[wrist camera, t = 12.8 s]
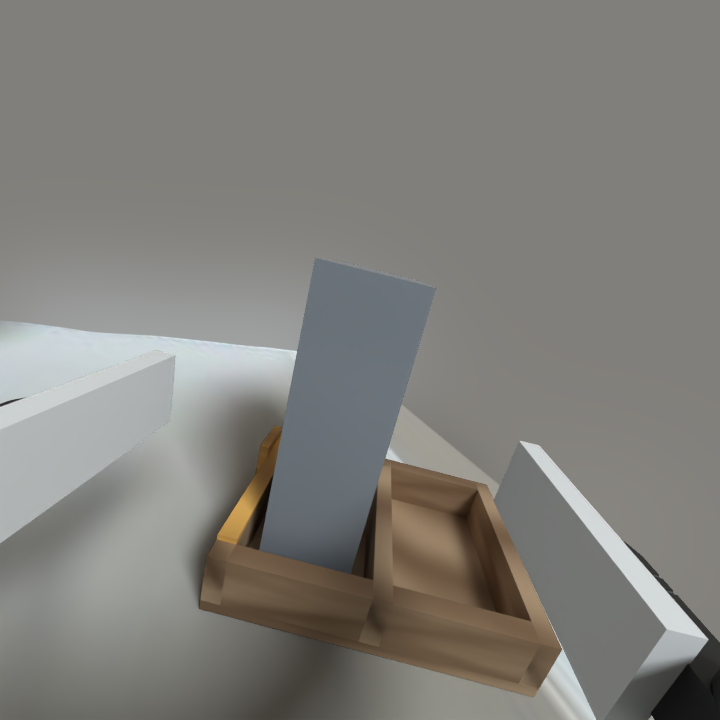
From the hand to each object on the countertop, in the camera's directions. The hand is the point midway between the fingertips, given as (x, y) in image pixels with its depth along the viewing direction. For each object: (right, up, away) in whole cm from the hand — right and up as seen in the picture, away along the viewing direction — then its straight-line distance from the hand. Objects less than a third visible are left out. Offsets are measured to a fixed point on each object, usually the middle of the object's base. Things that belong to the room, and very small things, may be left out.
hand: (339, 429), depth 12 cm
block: (-2, -9, +9) cm, 13 cm away
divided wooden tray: (+1, -10, +10) cm, 14 cm away
